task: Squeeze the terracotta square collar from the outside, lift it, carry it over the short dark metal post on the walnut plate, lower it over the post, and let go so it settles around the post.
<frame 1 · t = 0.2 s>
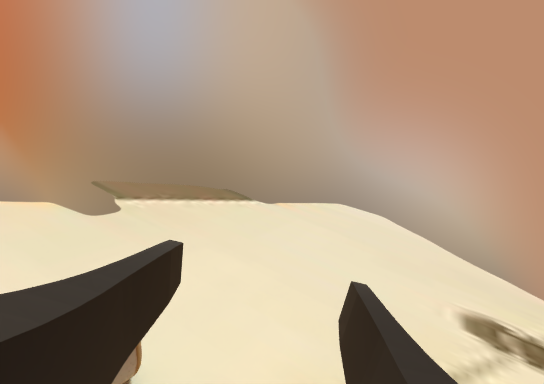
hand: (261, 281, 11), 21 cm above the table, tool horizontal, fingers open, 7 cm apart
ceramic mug: (83, 376, 26), on the table
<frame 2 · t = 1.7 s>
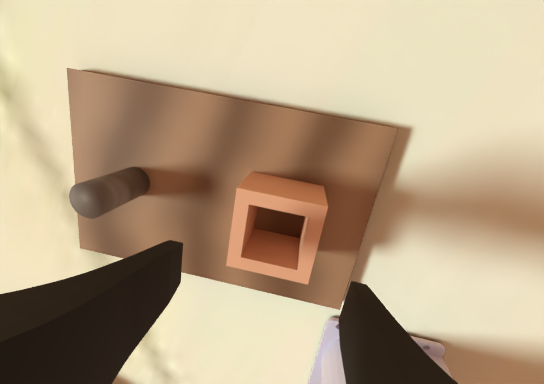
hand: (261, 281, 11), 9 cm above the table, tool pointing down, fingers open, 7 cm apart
plate: (218, 193, 20), on the table
collar: (280, 212, 18), point 1 cm above the table, touching plate
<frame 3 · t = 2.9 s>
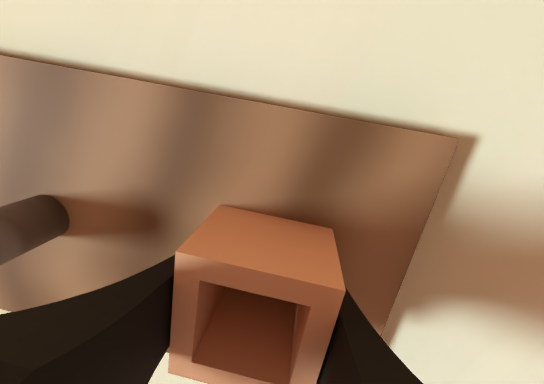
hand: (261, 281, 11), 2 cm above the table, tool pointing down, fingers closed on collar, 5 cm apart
plate: (174, 232, 13), on the table
collar: (265, 265, 12), point 1 cm above the table, touching gripper, plate
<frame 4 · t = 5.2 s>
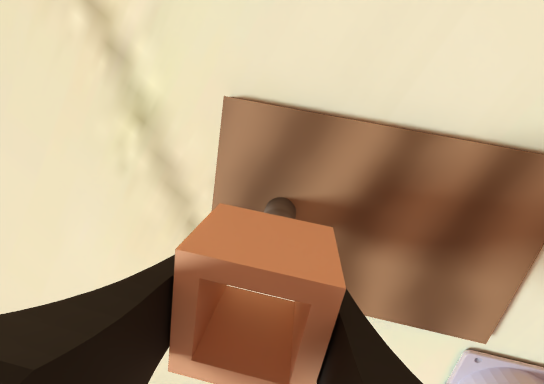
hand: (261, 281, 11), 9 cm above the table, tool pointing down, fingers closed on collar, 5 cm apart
plate: (362, 223, 19), on the table
collar: (266, 263, 12), point 8 cm above the table, touching gripper
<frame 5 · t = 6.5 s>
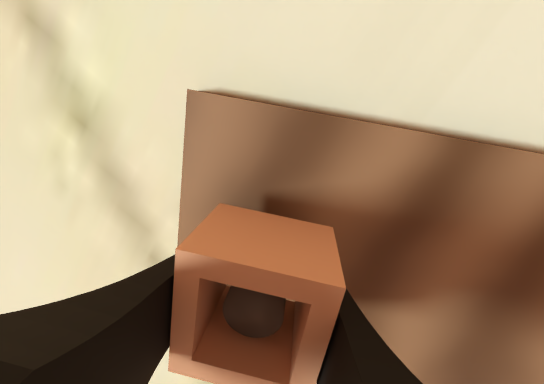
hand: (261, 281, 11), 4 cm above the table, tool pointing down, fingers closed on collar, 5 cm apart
plate: (381, 263, 14), on the table
collar: (266, 263, 12), point 2 cm above the table, touching gripper
when the fingers open (4 cm above the table, at t = 7.5 s): collar drops 1 cm, resting on plate.
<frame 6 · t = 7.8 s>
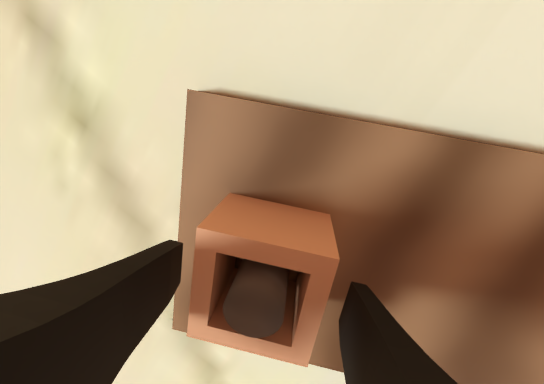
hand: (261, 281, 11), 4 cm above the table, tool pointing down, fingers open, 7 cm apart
plate: (381, 263, 14), on the table
collar: (270, 247, 13), point 1 cm above the table, touching plate
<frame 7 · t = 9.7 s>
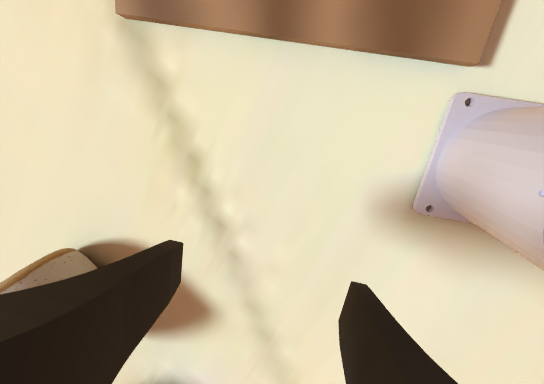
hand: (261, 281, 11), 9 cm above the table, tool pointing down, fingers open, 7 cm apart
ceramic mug: (92, 288, 25), on the table
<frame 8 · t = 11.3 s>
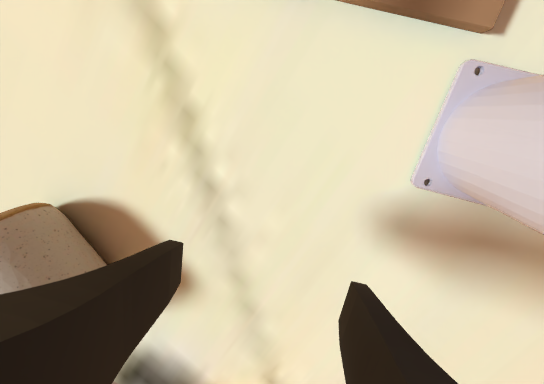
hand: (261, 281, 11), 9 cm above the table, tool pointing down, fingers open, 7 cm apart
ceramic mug: (69, 250, 24), on the table
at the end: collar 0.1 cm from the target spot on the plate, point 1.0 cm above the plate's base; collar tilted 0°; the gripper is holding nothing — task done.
